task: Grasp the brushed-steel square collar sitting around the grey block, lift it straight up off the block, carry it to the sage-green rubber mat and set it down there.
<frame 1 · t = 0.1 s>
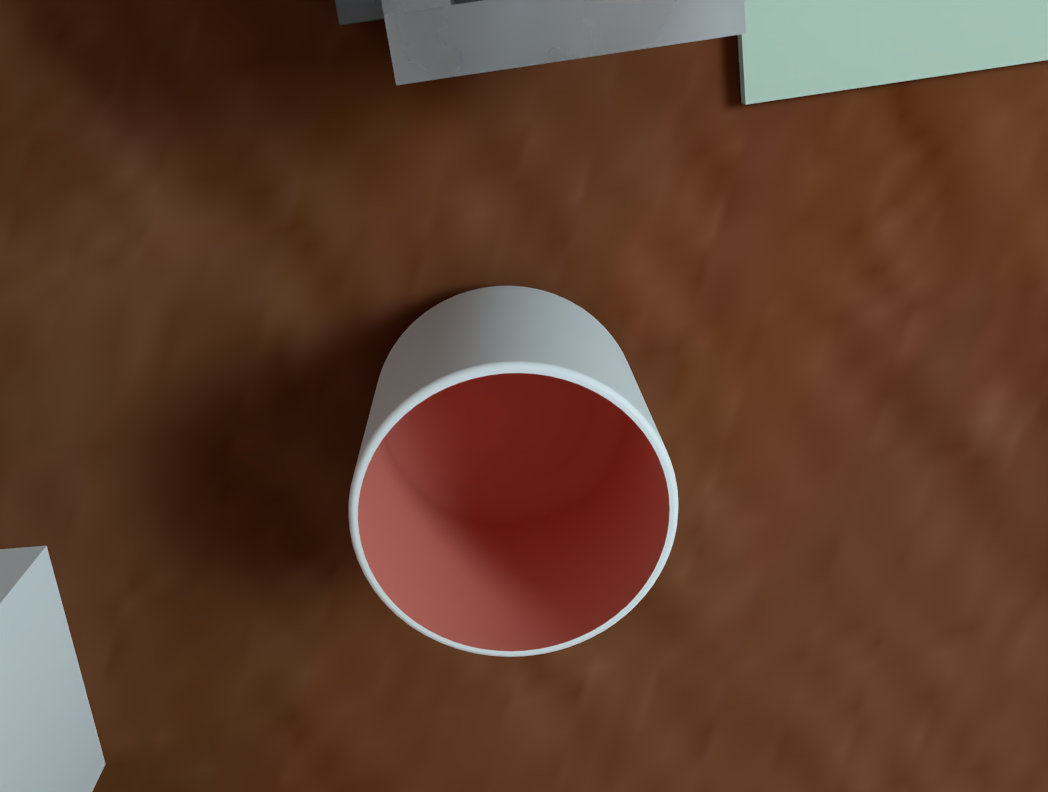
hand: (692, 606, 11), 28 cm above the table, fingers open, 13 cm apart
cup: (504, 398, 40), on the table
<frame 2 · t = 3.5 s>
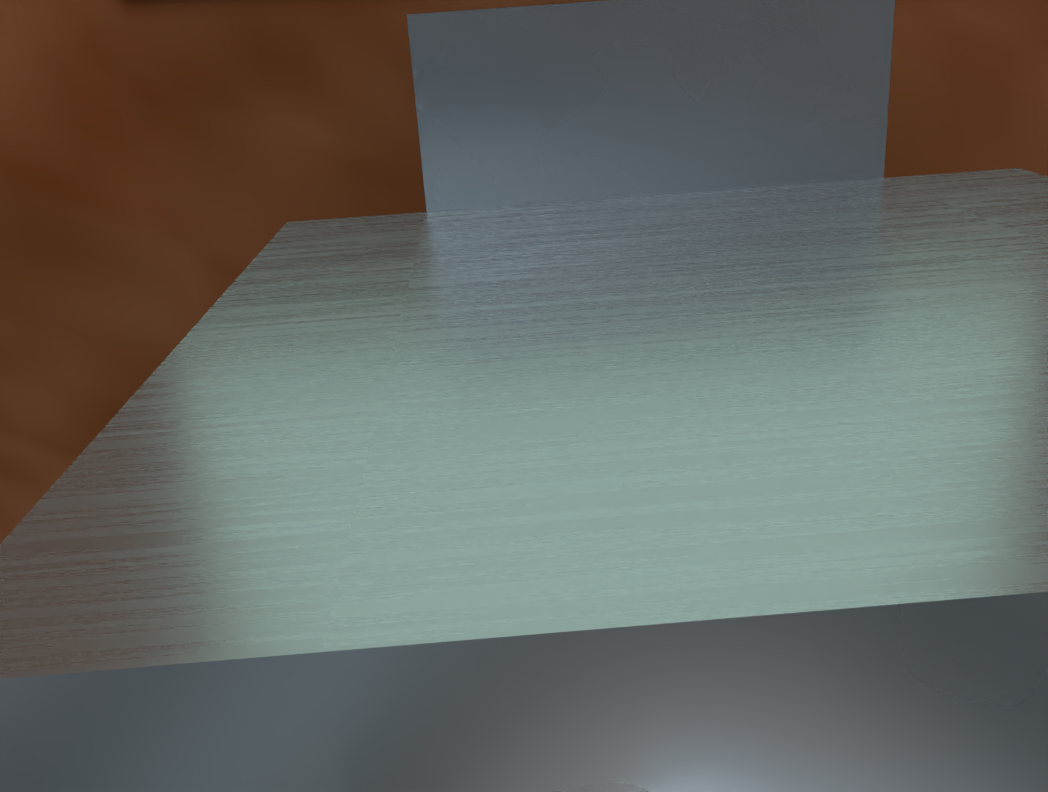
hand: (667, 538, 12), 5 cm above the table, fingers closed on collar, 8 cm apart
grey block: (610, 381, 17), on the table
collar: (661, 520, 12), point 5 cm above the table, touching gripper, grey block
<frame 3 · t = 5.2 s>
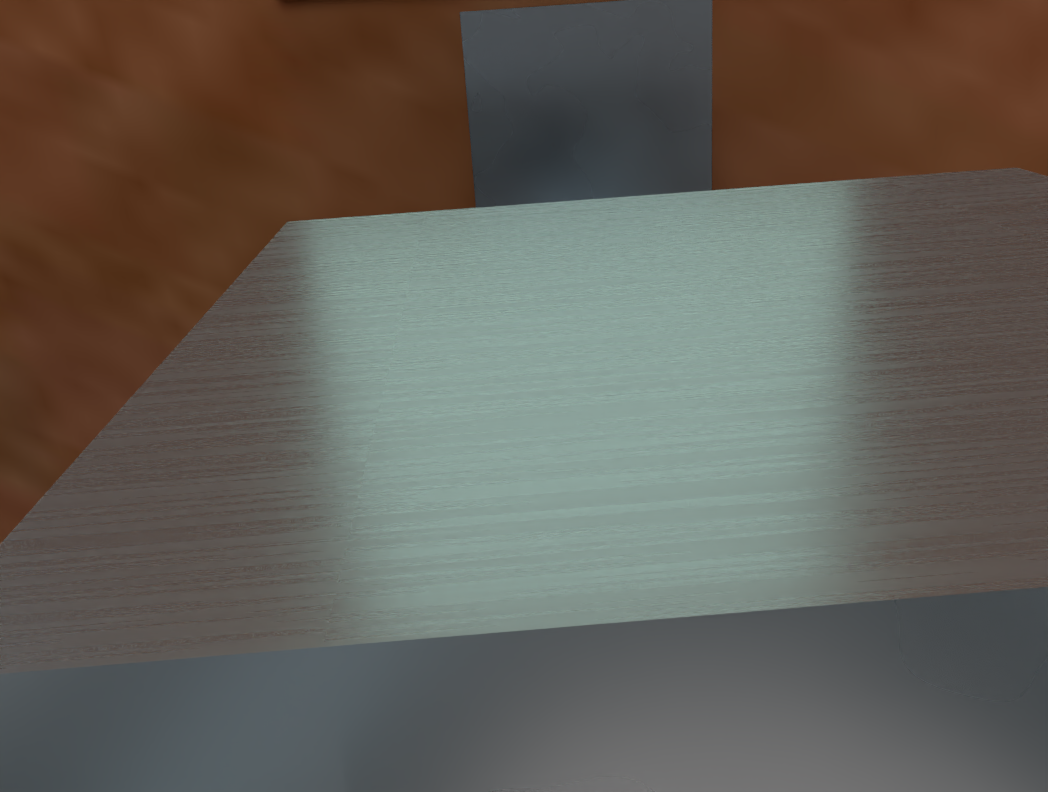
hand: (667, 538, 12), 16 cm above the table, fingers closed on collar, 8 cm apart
grey block: (578, 246, 27), on the table
collar: (660, 519, 12), point 15 cm above the table, touching gripper
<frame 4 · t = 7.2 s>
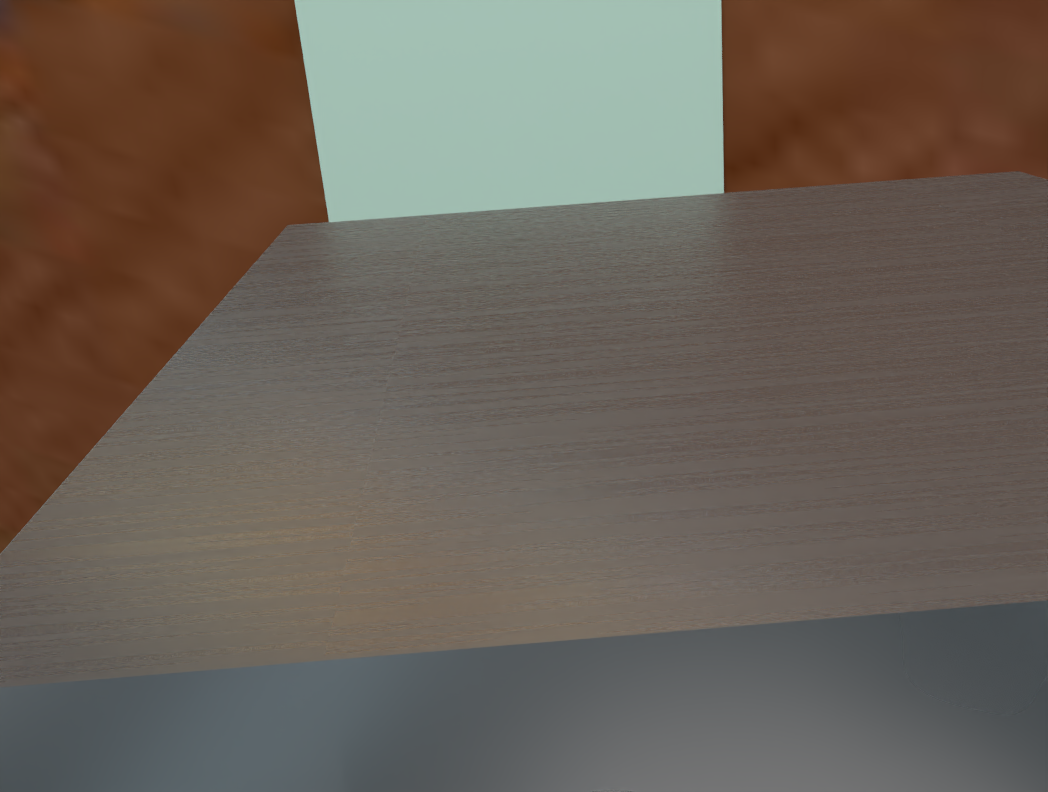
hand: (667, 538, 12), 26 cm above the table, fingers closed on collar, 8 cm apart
mat: (522, 152, 35), on the table
collar: (661, 523, 12), point 25 cm above the table, touching gripper
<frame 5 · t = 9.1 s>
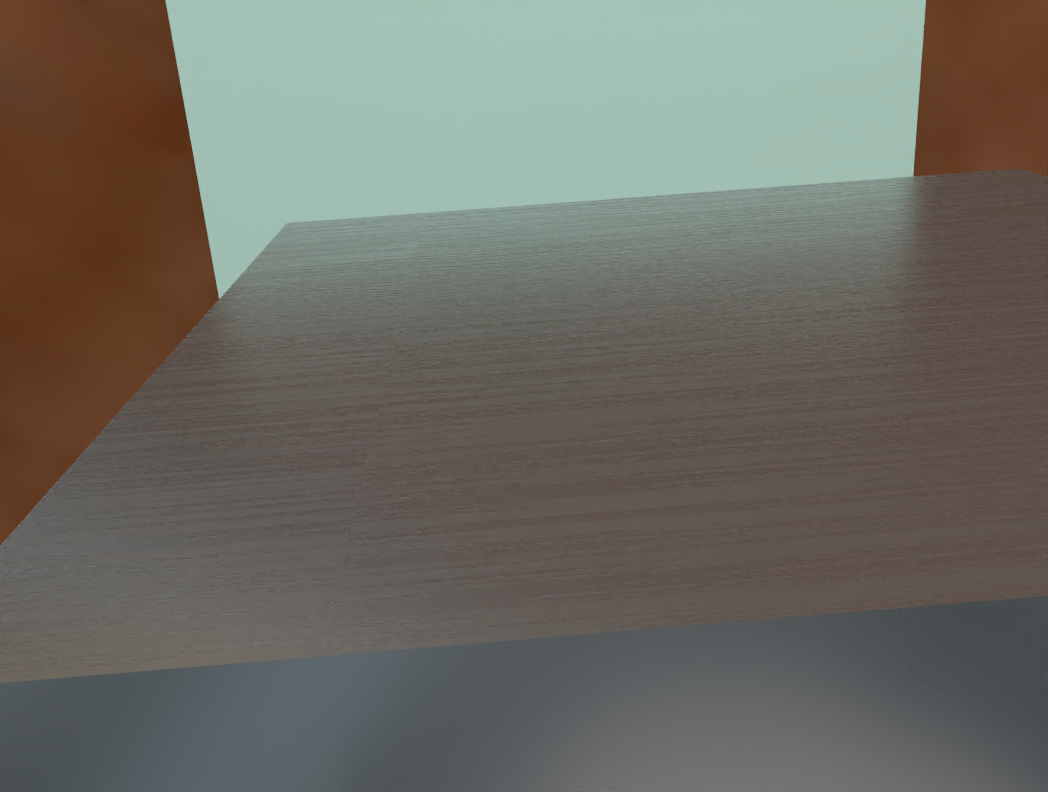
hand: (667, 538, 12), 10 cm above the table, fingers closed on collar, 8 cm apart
mat: (567, 315, 21), on the table
collar: (661, 521, 12), point 9 cm above the table, touching gripper
when the fingers open (2 cm above the table, at t = 10.9 s): collar drops 1 cm, resting on mat.
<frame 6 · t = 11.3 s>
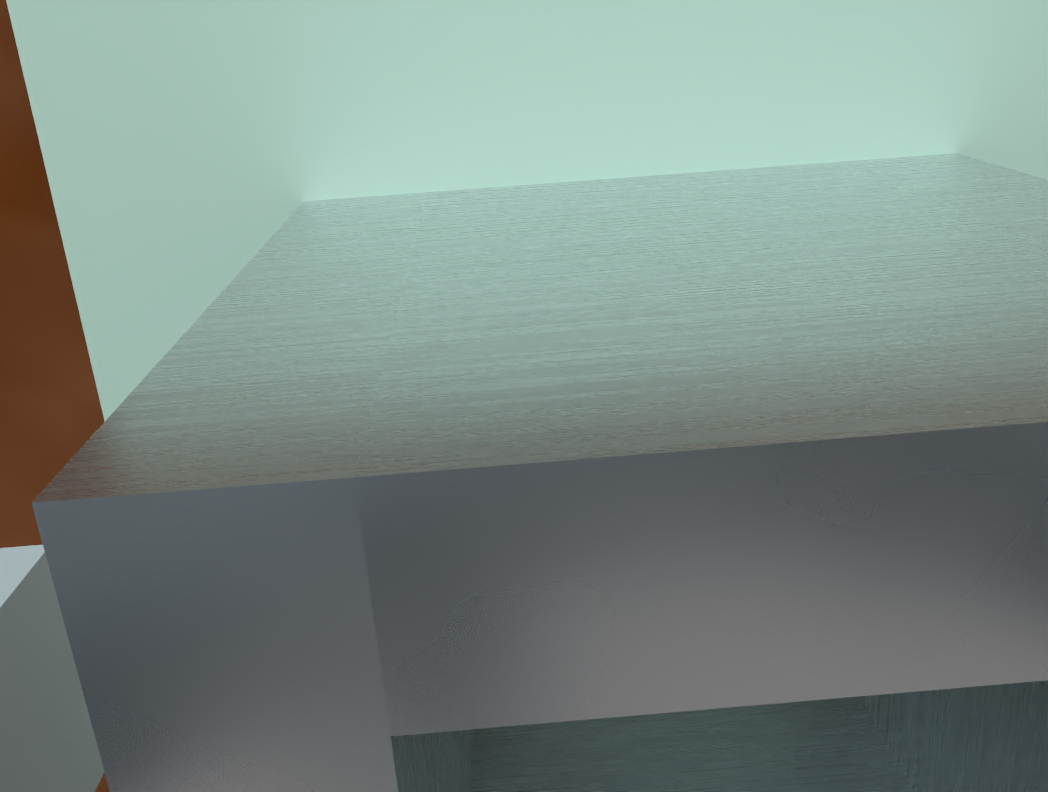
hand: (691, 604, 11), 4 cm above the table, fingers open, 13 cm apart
mat: (636, 453, 14), on the table
collar: (639, 473, 14), point 1 cm above the table, touching mat
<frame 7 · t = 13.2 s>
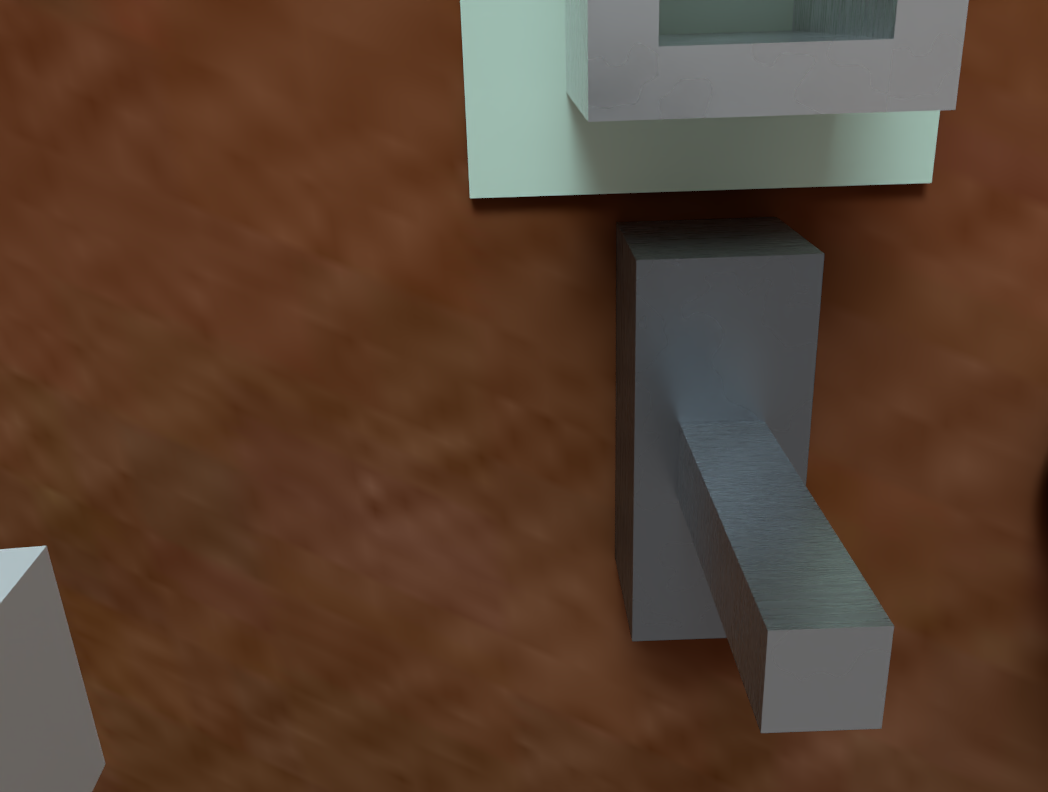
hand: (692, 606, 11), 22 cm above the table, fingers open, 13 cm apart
grey block: (690, 398, 33), on the table
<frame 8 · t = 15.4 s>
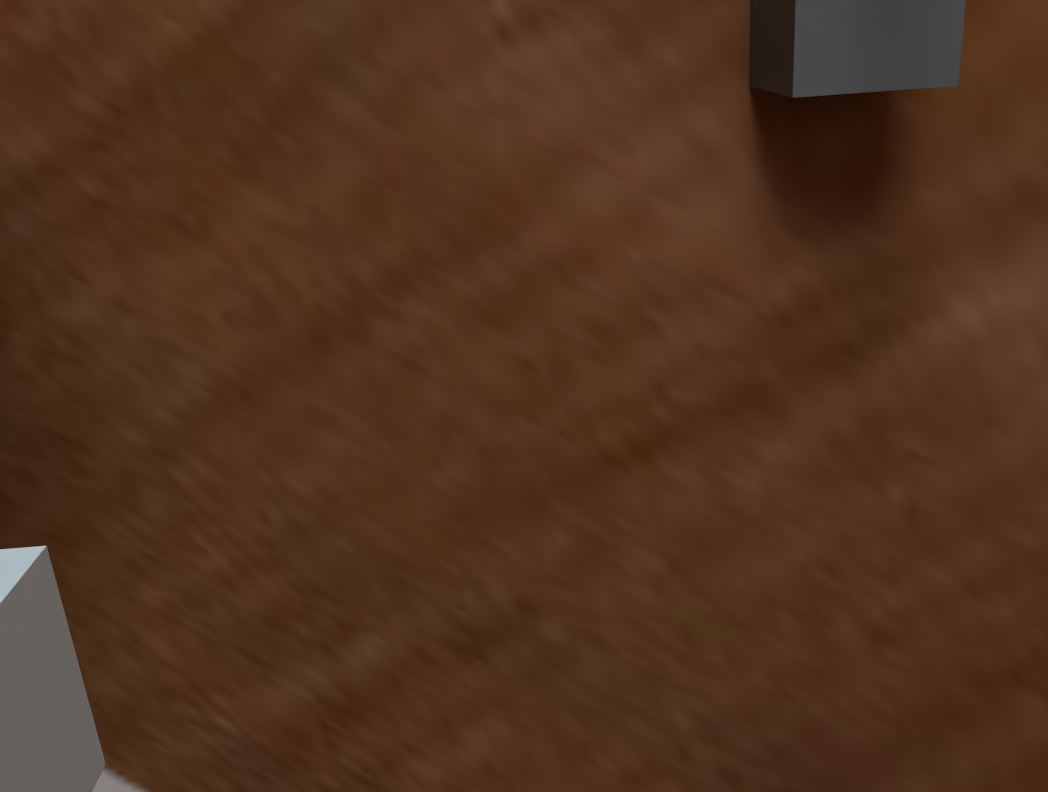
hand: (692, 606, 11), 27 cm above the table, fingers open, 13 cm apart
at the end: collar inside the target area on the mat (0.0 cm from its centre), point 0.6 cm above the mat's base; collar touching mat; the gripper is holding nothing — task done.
